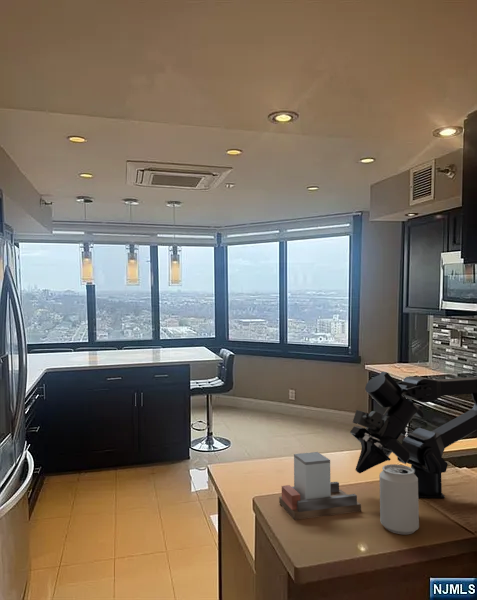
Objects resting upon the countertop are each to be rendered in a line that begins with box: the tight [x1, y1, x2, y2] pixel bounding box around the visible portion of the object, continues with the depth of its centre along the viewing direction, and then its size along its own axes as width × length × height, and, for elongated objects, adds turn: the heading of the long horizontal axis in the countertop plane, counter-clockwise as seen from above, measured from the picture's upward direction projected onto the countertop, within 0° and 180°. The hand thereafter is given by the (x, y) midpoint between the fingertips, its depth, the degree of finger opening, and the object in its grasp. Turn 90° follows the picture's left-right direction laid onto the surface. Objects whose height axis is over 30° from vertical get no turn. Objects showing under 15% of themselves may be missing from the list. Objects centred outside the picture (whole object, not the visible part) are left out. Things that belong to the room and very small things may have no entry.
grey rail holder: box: [278, 481, 362, 521], centre depth 100 cm, size 16×9×4 cm, turn 106°
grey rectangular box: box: [293, 451, 331, 500], centre depth 100 cm, size 6×6×10 cm
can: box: [379, 463, 420, 535], centre depth 90 cm, size 8×8×12 cm
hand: (357, 471), depth 103 cm, fingers closed
